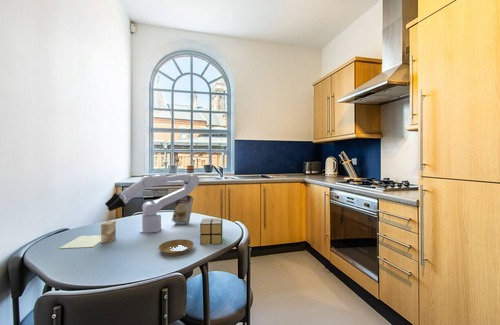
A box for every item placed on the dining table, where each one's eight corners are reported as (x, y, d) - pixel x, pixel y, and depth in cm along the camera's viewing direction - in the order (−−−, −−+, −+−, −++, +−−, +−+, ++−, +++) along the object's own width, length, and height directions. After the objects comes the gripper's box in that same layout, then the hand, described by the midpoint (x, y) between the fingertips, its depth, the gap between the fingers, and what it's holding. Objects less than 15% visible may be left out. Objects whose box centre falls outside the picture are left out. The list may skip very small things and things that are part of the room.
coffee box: (171, 220, 138) (176, 195, 145) (175, 222, 144) (180, 198, 151) (186, 221, 137) (190, 195, 144) (189, 223, 143) (193, 198, 150)
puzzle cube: (202, 237, 118) (202, 218, 117) (222, 237, 118) (222, 218, 118) (200, 245, 108) (200, 223, 107) (221, 244, 108) (221, 223, 108)
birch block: (115, 238, 116) (115, 220, 115) (110, 242, 110) (110, 224, 110) (107, 238, 115) (107, 220, 115) (101, 243, 109) (101, 224, 109)
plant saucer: (171, 261, 91) (171, 255, 91) (151, 252, 100) (151, 246, 100) (200, 249, 103) (200, 244, 103) (180, 242, 111) (180, 237, 111)
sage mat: (109, 235, 120) (109, 234, 120) (93, 247, 104) (93, 246, 104) (80, 236, 118) (80, 235, 118) (59, 248, 102) (59, 248, 102)
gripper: (125, 182, 127) (100, 197, 120) (131, 188, 116) (104, 205, 109) (132, 192, 130) (108, 207, 123) (139, 199, 119) (113, 216, 112)
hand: (107, 207), depth 116 cm, fingers open, 7 cm apart
